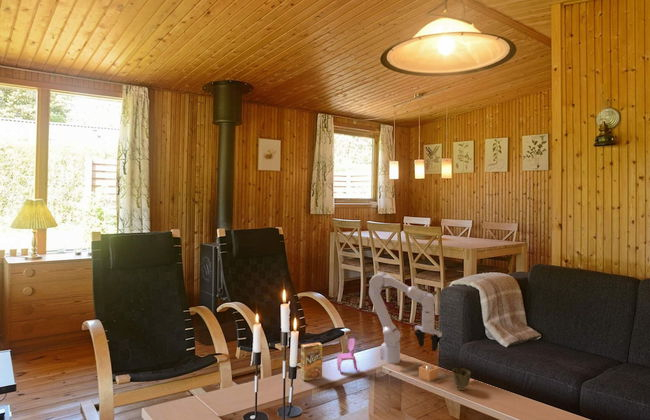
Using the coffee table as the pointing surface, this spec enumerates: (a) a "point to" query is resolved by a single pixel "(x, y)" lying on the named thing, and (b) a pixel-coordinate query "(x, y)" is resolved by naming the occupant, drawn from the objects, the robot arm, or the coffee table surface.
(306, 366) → the candy box
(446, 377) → the board
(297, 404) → the coffee table surface
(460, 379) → the cup
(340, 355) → the toy chair
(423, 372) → the collar
